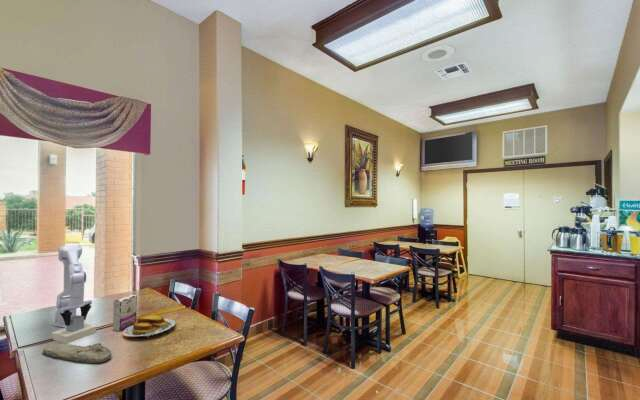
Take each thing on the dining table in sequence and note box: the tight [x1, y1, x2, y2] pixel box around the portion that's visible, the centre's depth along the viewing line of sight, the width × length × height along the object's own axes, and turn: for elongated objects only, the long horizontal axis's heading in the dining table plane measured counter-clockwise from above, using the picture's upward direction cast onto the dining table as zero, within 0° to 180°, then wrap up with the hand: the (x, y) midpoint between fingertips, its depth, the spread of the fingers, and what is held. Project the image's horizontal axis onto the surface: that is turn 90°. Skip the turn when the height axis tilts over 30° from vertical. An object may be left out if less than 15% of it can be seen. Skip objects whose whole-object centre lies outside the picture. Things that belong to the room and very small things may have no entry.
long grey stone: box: [41, 342, 112, 364], centre depth 134 cm, size 35×5×10 cm
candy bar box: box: [112, 294, 138, 332], centre depth 166 cm, size 11×5×16 cm, turn 168°
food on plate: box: [121, 314, 176, 340], centre depth 162 cm, size 25×25×7 cm
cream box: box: [51, 322, 97, 344], centre depth 153 cm, size 11×14×4 cm
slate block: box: [65, 314, 85, 332], centre depth 153 cm, size 5×5×6 cm
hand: (75, 322), depth 153 cm, fingers open, 7 cm apart
